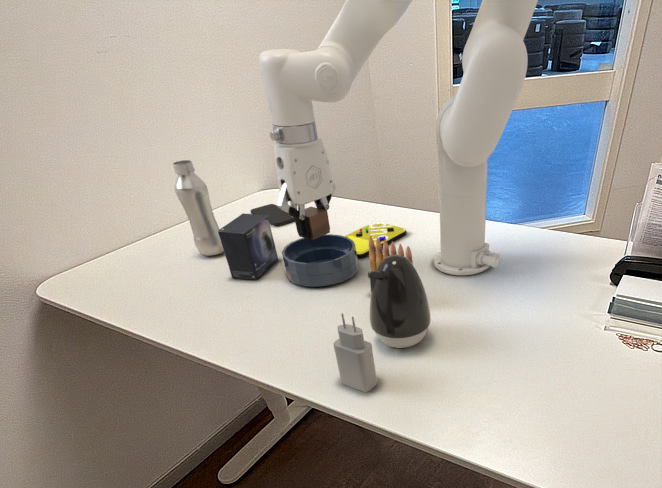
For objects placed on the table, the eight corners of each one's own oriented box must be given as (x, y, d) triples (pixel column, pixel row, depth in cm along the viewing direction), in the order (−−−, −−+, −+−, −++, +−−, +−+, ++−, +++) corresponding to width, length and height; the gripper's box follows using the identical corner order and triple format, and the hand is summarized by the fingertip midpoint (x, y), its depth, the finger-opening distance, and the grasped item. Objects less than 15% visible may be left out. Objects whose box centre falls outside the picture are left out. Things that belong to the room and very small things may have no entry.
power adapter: (351, 371, 77) (339, 305, 69) (379, 381, 74) (369, 314, 67) (339, 382, 75) (325, 315, 67) (367, 393, 72) (355, 325, 65)
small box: (258, 281, 102) (244, 232, 95) (231, 279, 103) (215, 231, 96) (280, 260, 110) (269, 213, 103) (254, 258, 111) (241, 212, 104)
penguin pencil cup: (360, 340, 83) (346, 257, 73) (404, 317, 89) (397, 237, 79) (398, 364, 78) (389, 278, 68) (443, 338, 83) (441, 255, 73)
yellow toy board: (362, 260, 108) (361, 253, 107) (326, 250, 113) (325, 244, 112) (409, 233, 120) (408, 227, 119) (374, 225, 124) (374, 219, 123)
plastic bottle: (229, 255, 112) (199, 164, 99) (199, 261, 111) (164, 168, 98) (228, 245, 117) (199, 156, 104) (198, 250, 115) (165, 160, 102)
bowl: (372, 267, 105) (369, 243, 102) (322, 296, 96) (317, 270, 93) (324, 252, 112) (320, 229, 109) (273, 277, 103) (266, 253, 100)
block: (330, 232, 99) (326, 210, 96) (314, 239, 96) (309, 217, 93) (315, 228, 101) (311, 206, 98) (298, 235, 98) (294, 212, 95)
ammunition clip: (371, 295, 96) (363, 236, 88) (377, 291, 97) (370, 233, 89) (413, 309, 91) (409, 248, 83) (419, 305, 92) (415, 245, 84)
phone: (275, 224, 125) (248, 210, 133) (276, 227, 125) (249, 213, 134) (300, 216, 129) (272, 203, 137) (300, 219, 129) (273, 206, 138)
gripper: (272, 146, 80) (295, 251, 92) (343, 127, 90) (356, 224, 102) (244, 140, 83) (270, 242, 95) (316, 123, 93) (331, 217, 105)
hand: (314, 232), depth 98 cm, fingers closed on block, 4 cm apart
